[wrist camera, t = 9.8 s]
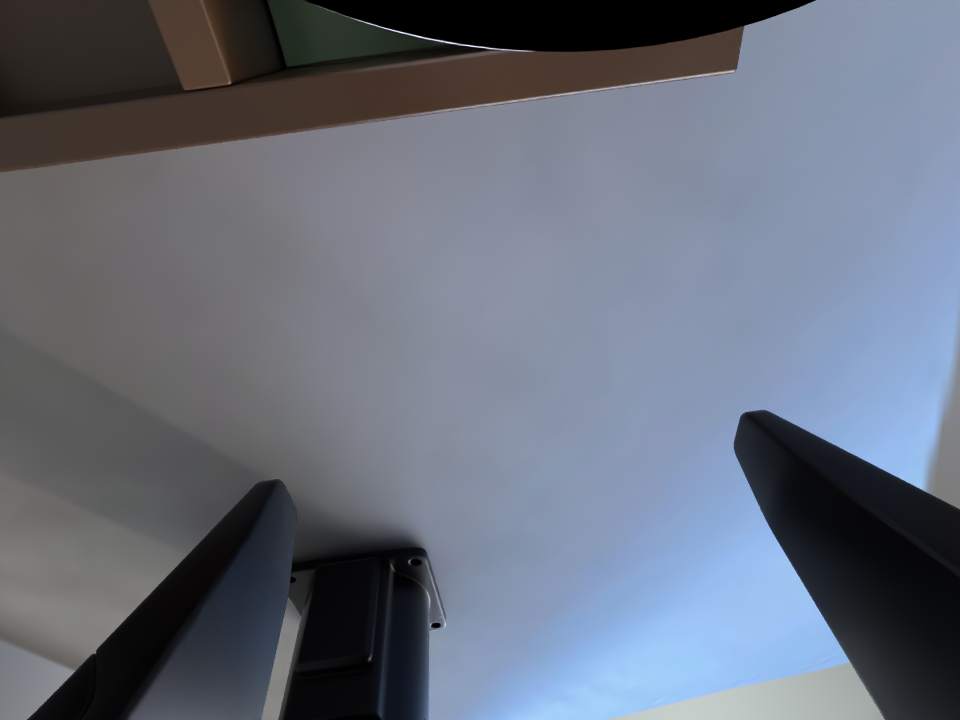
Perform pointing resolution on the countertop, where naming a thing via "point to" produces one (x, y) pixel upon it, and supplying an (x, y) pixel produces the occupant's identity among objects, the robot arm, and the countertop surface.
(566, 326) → the countertop surface
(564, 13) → the can
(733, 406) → the countertop surface
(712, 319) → the countertop surface
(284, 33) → the divided wooden tray
